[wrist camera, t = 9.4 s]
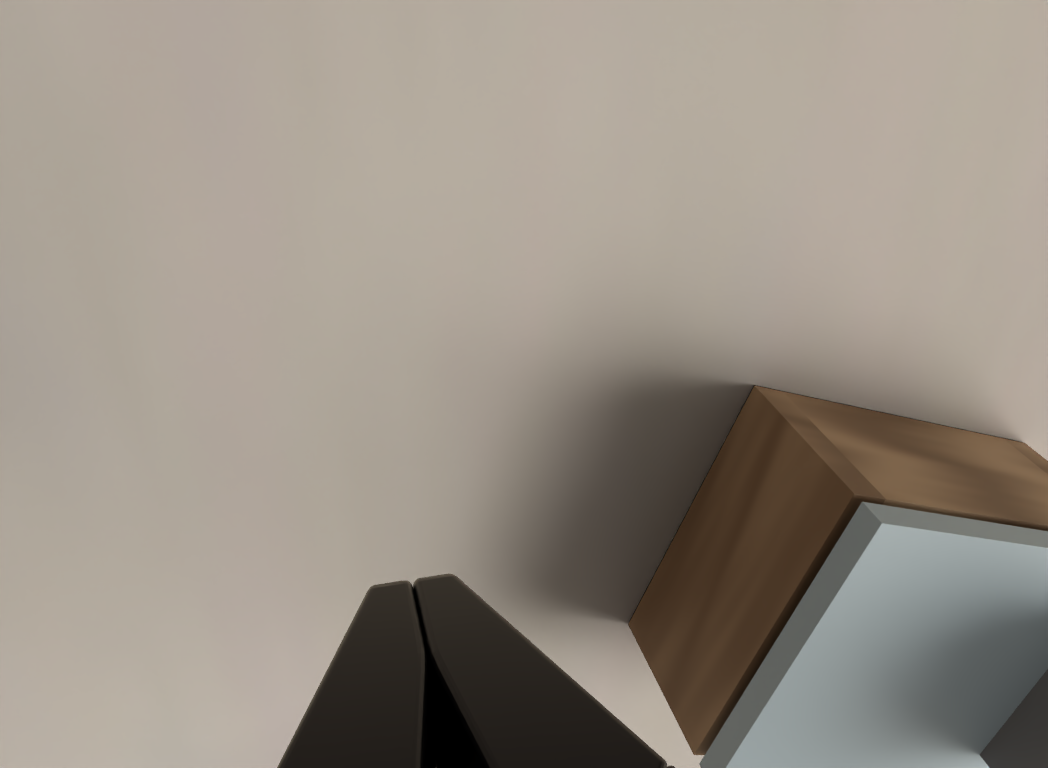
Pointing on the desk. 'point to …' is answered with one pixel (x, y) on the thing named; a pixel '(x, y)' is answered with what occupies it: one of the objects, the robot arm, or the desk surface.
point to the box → (801, 531)
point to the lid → (906, 653)
